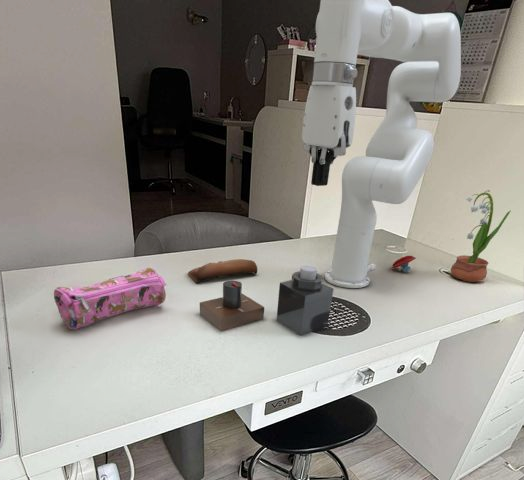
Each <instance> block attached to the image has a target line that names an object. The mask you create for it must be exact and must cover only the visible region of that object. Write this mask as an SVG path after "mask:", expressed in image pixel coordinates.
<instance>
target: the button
mask: <svg viewBox="0 0 524 480" xmlns="http://www.w3.org/2000/svg"><path fill="white" fill-rule="evenodd" d="M416 259H417V257H415V256H413V255H405V256H402V257H400V258H398V259H396V260H395V261H394V262H393V263H392V266H391V269H396V268H400V267H401V271H402V273H409V271H411V266H410V265H409V263H411V262H413V261H414V260H416Z"/></svg>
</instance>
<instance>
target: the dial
mask: <svg viewBox="0 0 524 480" xmlns="http://www.w3.org/2000/svg"><path fill="white" fill-rule="evenodd" d="M242 291H243V284H242V282H241V281H238V280H226V281H223V283H222V297H223V306H225V307H227V308H238V307H240V306H241V296H242V294H243V293H242Z"/></svg>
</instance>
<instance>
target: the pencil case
mask: <svg viewBox="0 0 524 480" xmlns="http://www.w3.org/2000/svg"><path fill="white" fill-rule="evenodd" d="M121 276H122V277H120V276H116V277H112V278H113V279H112V278H109V279H110V280H109V279H106V280H104V281H101V282H98V283H95V284H92V285H89V286H72V287H65V286H58V287H56V288H55V289H54V291H53V299H54V303H55V305H56V307H57V309H58V313H59V316H60V318H61V320H63V321H64V323H65V324H66V325H67V328H68V329H69V330H73V331H75V330H78V329H79V328H81V329H82V328H84V327H87V326H89V325H92V324H95V323H98V322H100V321H101V320H104V319H109V318H111V317H114V316H117V315H121V314H123V313H126V312H129V311H131V310H133V311H135V310H137V309H142V308H146V307H152V306H159V305H162V304H163V303H164V302H166V296H167V292H166V289H165V286H167V283H166V281H165V280H164V278H163V277H162V275H160V276H159V274H158V272H157V271H156V269H154V268H152V267H147V268H143V269H141V270H138V271H136V272H135V273H134V274H128V275H121Z"/></svg>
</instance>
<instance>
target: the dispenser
mask: <svg viewBox="0 0 524 480" xmlns="http://www.w3.org/2000/svg"><path fill="white" fill-rule="evenodd" d="M299 277H300V270H299V271H295V272H293V273H292V274H291V279H290V280H285V281H281V282H279V288H278V298H277V308H276V309H277V310H276V320H275V321H276V322H277V323H279V324H281V325H282V326H284V327H286V328H287V329H289V330H290V331H292V332H293V333H295V334H296V335H298V336H299V337H301V336H304V335H307V334H311V333H313V332H316V331H319V330H322V329H325V328H328V326H329V325H328V324H329V319H330V314H331V308H332V302H333V297H334V290H335V289H334V287H331V286H329V285H327V284H326V283H324V279H325V277H323V275H322V274H320V273H318V272H317V275H316V279H315V280H305V279H301V278H299Z"/></svg>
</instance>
